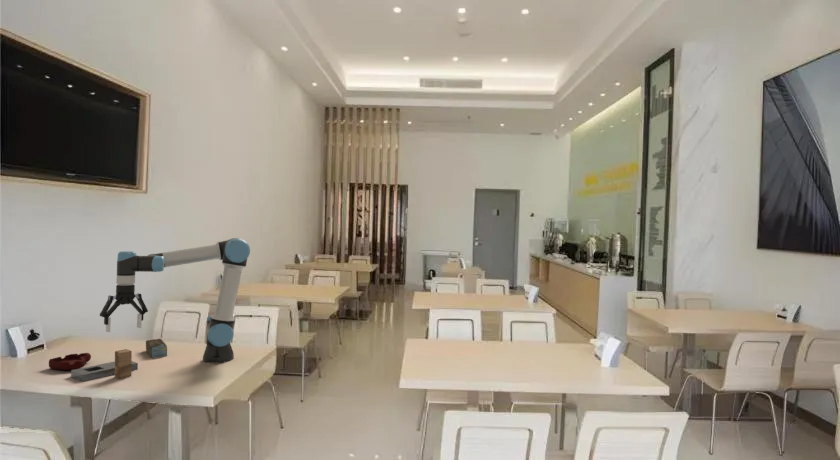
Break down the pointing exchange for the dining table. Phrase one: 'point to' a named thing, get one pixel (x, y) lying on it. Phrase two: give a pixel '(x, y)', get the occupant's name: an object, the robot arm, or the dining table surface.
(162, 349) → the beverage carton
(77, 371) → the steel rail
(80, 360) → the dark red curved piece
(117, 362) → the walnut block
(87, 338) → the dining table surface
